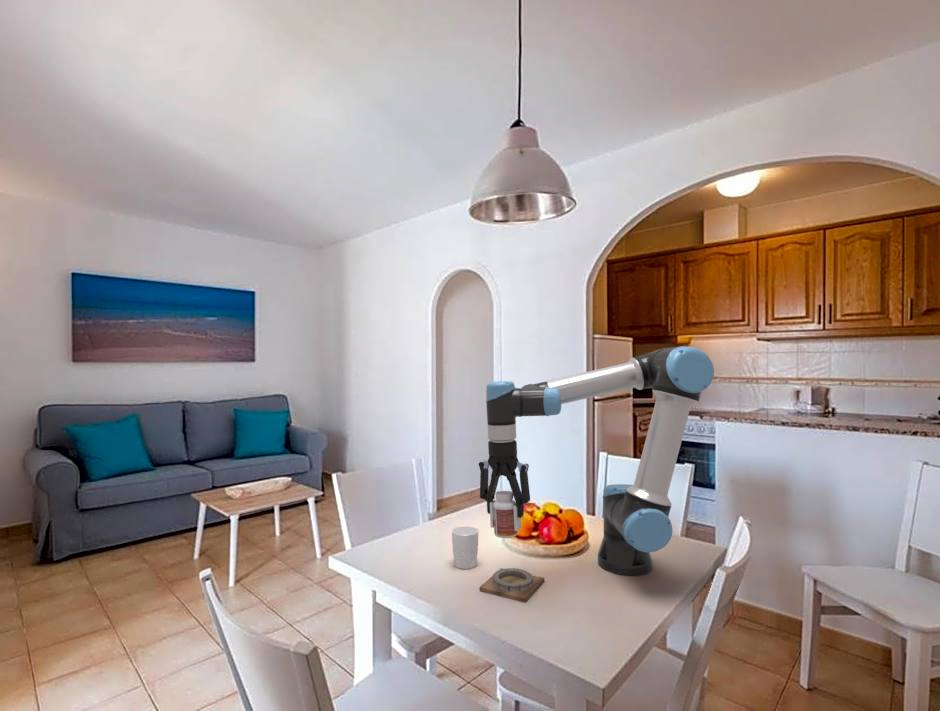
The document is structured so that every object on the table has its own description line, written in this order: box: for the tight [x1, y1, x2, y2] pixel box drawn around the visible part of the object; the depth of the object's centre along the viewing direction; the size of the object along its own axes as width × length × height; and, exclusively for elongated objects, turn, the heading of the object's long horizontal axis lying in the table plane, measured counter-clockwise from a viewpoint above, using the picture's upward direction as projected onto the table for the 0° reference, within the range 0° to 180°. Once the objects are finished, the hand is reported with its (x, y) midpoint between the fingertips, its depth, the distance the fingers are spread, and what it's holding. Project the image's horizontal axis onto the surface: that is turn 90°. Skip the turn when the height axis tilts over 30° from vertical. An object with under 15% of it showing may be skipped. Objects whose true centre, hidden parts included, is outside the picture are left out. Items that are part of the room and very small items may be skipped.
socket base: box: [478, 567, 546, 603], centre depth 129 cm, size 13×13×2 cm
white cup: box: [451, 525, 479, 570], centre depth 144 cm, size 8×8×10 cm
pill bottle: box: [493, 490, 519, 539], centre depth 129 cm, size 6×6×11 cm
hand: (505, 527), depth 129 cm, fingers closed on pill bottle, 6 cm apart
